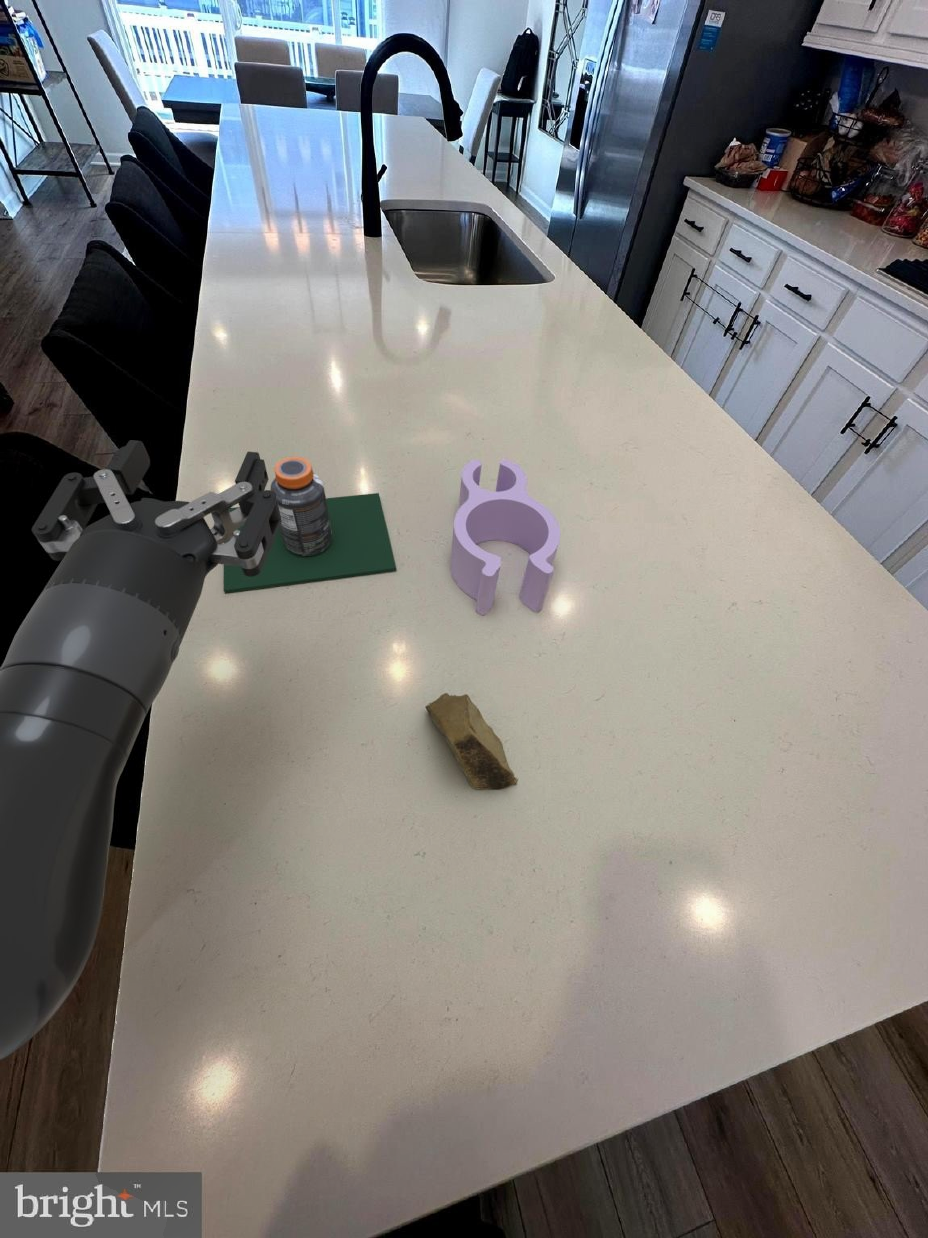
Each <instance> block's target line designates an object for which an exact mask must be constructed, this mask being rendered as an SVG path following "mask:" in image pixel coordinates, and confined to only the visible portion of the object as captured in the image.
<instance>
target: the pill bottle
mask: <svg viewBox="0 0 928 1238" xmlns="http://www.w3.org/2000/svg"><path fill="white" fill-rule="evenodd" d="M273 469H274V475H275V477H274V478H273V480H272V481H271V484H270V488H269V490H271V491H273V492H275V494H276V498H277V502H278V506H279V510H280V515H281V519H282V523H281V525H280V531H281V535H282V538H283V542H284V545H285V547H286V548H287V549H288V550H289V551H290V552H291V553H293V554H296V555H299V556H312V555H316V554H319V553H321V552H323V551H324V550H326V549H327V548H328V547H329V545H330V544H331V541H332V532H331V526H330V520H329V514H328V508H327V502H326V498H327V497H326V491H325V485H324V482H323V480H322V479H321V477H320V476H319V475H318V474H316V473H314V470H313V466H312V463H311V461H310V460H308V459H306V458H305V457H301V456H288V457H285V458H283V459H280V460H278V462H277V463H276V464H275V466H274V468H273Z"/></svg>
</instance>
